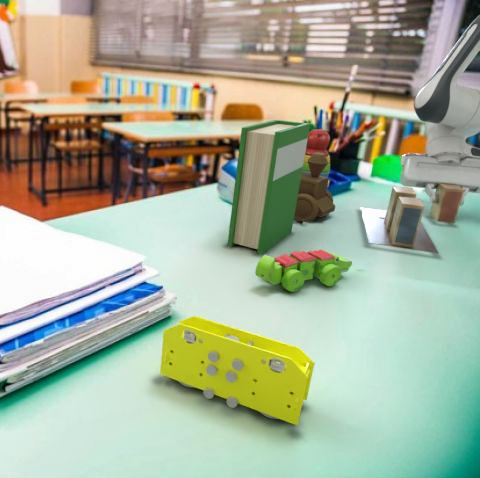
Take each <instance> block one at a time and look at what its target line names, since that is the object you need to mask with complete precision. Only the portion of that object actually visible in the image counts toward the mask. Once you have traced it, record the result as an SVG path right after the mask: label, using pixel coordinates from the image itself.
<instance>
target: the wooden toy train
mask: <svg viewBox="0 0 480 478" xmlns="http://www.w3.org/2000/svg"><path fill="white" fill-rule="evenodd" d="M307 161H308V165H309V168H310V172H311V174H308V173H303V172H302V174H301V180H300V186H299V192H298V198H297V203H296V209H295V215H294V220H295V221H297V222H300V223H304V222H306V223H310V222H313V221H314V220H316V218H317V217H319V218H320V217H321V218H323V217H325V216H326V215H329V214H331V213H333V212H334V211H335V209H336V205H335V203H334V198H333V195H332V193H331V192H330V191H329V190H328V186H329V179H330V178H329V177H328V178H326V177H322V176H319V175H320V174H321V173H322V171H323V170H324V168H325V167H326V165H327V164H328V160H327V158H326V156H325V154H324V153H314V154H313V155H312V156H311V157H310V158H309V159H308V160H307Z"/></svg>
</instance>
